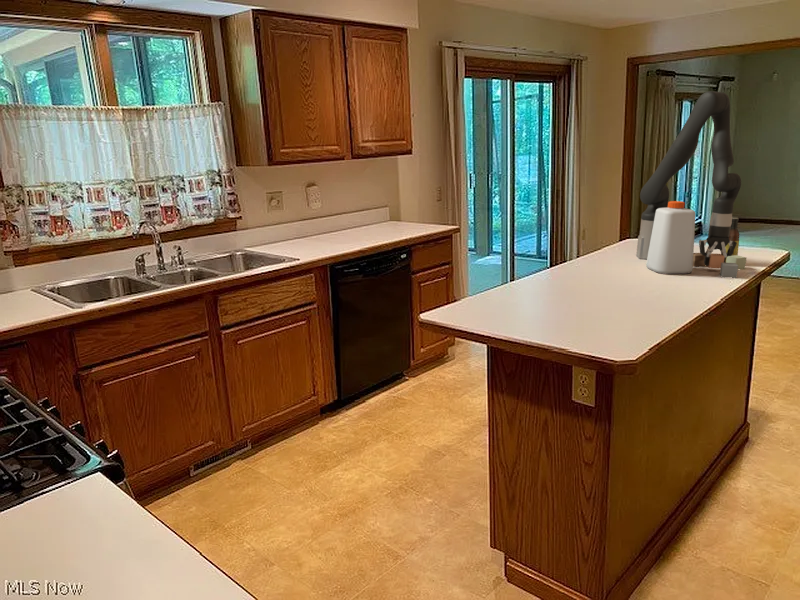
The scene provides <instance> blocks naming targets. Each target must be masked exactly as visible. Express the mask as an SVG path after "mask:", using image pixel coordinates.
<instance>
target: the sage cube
mask: <svg viewBox="0 0 800 600" xmlns="http://www.w3.org/2000/svg"><path fill="white" fill-rule="evenodd" d="M726 263H736V264H737V265H738V269H742V270H746V269H745V268H746V264H747V257H745V256H743V255H739V254H738V255H733V256H728V257H727V259H726Z"/></svg>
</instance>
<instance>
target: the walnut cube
mask: <svg viewBox="0 0 800 600" xmlns="http://www.w3.org/2000/svg"><path fill="white" fill-rule="evenodd" d="M704 259H705V256H704V255H702V254H700V252H693V268H700V267H699V266H705V267H706V265H705V264H704Z"/></svg>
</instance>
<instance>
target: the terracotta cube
mask: <svg viewBox="0 0 800 600" xmlns="http://www.w3.org/2000/svg"><path fill="white" fill-rule="evenodd" d="M709 257H710V260H709V266H706V267H708V268H709V269H721V262H724V257H725V256H723V255H722V254H721V253H713V252H712V253H711V254H710V256H709Z"/></svg>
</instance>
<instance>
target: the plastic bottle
mask: <svg viewBox="0 0 800 600" xmlns="http://www.w3.org/2000/svg"><path fill="white" fill-rule="evenodd" d="M685 204H686V203H685V201H681V200H680V201H679V200H670V201H669V200H668V206H667V208H658V209H657V210H656V213H655V219H654V224H653V229H652V235H651V240H650V246H649V251H648V257H647V259H646V263H645V266H646V268H647V269H649V270H651V271H653V272H655V273H657V274H663V275H685V274H690V273H692V272H693V270H694V269H693V268H694V267H693V253H695V252H694V250H695V231H696V230H695V228H696V211H694V209H690V208H685Z"/></svg>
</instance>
